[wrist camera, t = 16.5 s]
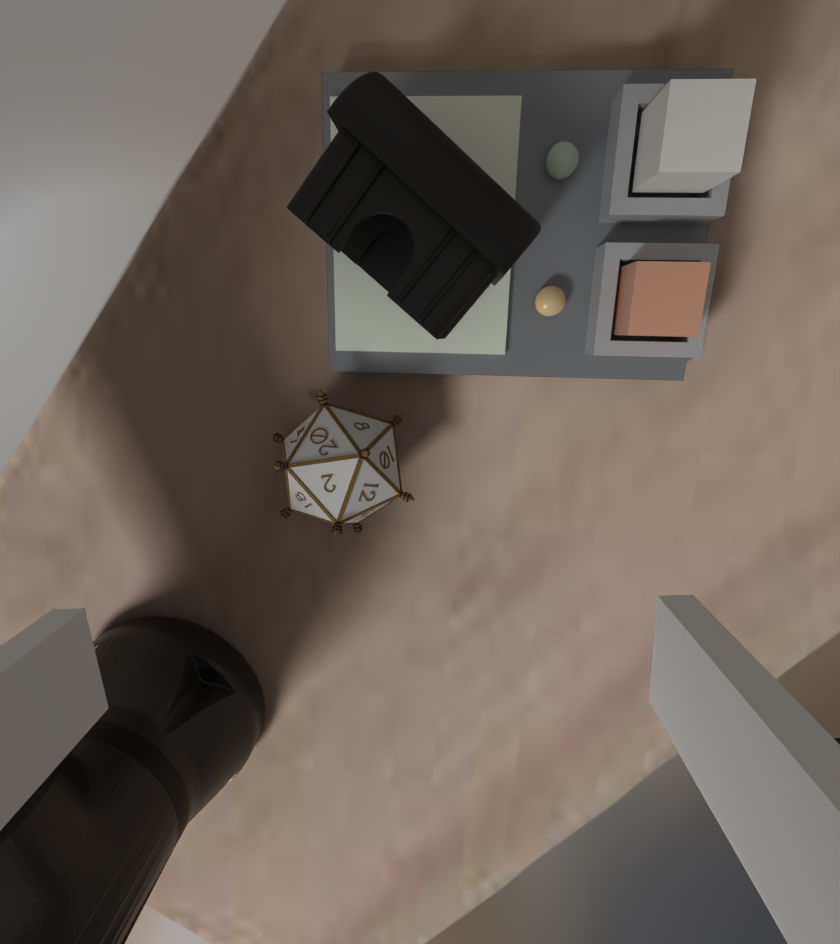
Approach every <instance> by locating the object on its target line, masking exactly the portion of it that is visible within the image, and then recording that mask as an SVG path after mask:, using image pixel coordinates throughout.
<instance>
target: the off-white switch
mask: <svg viewBox="0 0 840 944" xmlns="http://www.w3.org/2000/svg"><path fill="white" fill-rule="evenodd" d="M755 85H756V79H671V80H670V81H669V82H668V83H667V84H666V86H665V87H664V88H663V89H662V90H661V91H660V92H659V94H658V95H657V96H656V97H655V98H654V99H653V101H652V102H651V103H650V104H649V105H648V106H647V107H646V109H645V110H644V111H643V112H642V115H641V124H640V132H639V140H638V148H637V157H636V165H635V173H634V181H633V190H632V192H649V193H704V192H705V191H707V190H709V189H711V188H713V187H715V186H716V185H718V184H720V183H722V182H724V181H726V180H727V179H729V178H731V177H733V176H735V175H737V174H738V173H740V172H741V167H742V161H743V155H744V149H745V143H746V138H747V132H748V126H749V120H750V114H751V108H752V103H753V97H754V91H755Z"/></svg>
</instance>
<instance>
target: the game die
mask: <svg viewBox="0 0 840 944" xmlns="http://www.w3.org/2000/svg"><path fill="white" fill-rule="evenodd" d="M326 396H327V395H326V393H324V392H323V391H322V390H321V389H320V391H319V394H318V396H317V397H318V399H319V400H318V401H320V403H321V406H320V407H318V408H317V409H316V410H315V411H314V412H313V413H312V414H311V415H309V416H308V417H307V418H306V419H305V420H304V421H303V422H302V423H301V424H299V425H298V426H297V427H296V428H295V429H294V430H293V431H292V432H291V433H289V434H288V435H287V436H286V437H285V438H283V437H282V435H279V433H277V434H273V435H271V436H272V438H273V441H277V442H279V443H280V442H282V449H283V460H284V462H278V461H276V463H275V464H274V465H272V467H274V468H275V469H276V470H277V472H278V471H279V470H280V471H283V470H285V479H286V489H287V498H288V508H286V509H284V510H283V511H280V512H281V514H280V517H279V518H287V516H290V513H291V512H292V511H293V512H296V513H299V514H303V515H306V516H309V517H312V518H315V519H318V520H322V521H325V522H328V523H331V524H334V527H332V529H333V531H332V533H334V535H335V536H336V538H337V537H338V536H339V535H340V534H342V526H341V525H348V524H354V526H353V527H354V531H355V532H356V533H358V534H360V532H361V530H362V529H363V528H361V526H362V525H360V524H359V522H361V521H362V520H364V519H366V518H367V517H369V516H370V515H372V514H373V513H375V512H377V511H378V510H380V509H381V508H383V507H384V506H386V505H387V504H389V503H391V502H392V501H394V500H395V499H397V498H398V497H402V498H403V500H406V502H408V501H413V500H414V498H413V497H412V495H411V494H408V493H407V492H406V493H405V492H402V485H401V478H400V470H399V462H398V454H397V446H396V438H395V430H394V426H395V425H397V424H398V425H399V423H400V422H402V419H403V416H404V414H403V415H396V416H395V417H393V420H392V421H391V422H389V421H386V420H382V419H379V418H376V417H372V416H369V415H365V414H362V413H359V412H355V411H352V410H349V409H345V408H342V407H338V406H335V405H332V404H328V403H327V397H326Z"/></svg>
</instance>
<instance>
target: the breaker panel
mask: <svg viewBox="0 0 840 944" xmlns="http://www.w3.org/2000/svg"><path fill="white" fill-rule="evenodd" d="M321 73H322V109H323V146H324V152H325V150H326V149H327V147H328V146H329V144H330V143H331V141H332V140H333V138H334V137H335V136H336V134H337V133H338V130H337V128H336V127H335V125H334V123H333V121H332V120H331V118H330V116H329V115H328V113H327V110H328V109H329V108H330V106H331V105H332V103H333V102H334V101H335V99H336V98H337V97H338V96H339V95H340V94H341V92H342V91H343V90H344V89H345V88H346V87H347V86H348V85H349V84H351V83H352V82H353V81H354V80H355V79H357V78H358V77H360V76H361V75H364V74H366V73H369V72H321ZM379 73H380V74H382V75H384V76H385V77H386V78H387V79H388V80H389V81H390V82H391V83H392V84H393V85H394V86H395V87H397V88H398V89H399V90H400V91H401V92H402V93H403V94H404V95H405V96H406V97H407V98H408V99H409V100H410V101H411V102H412V103H413V104H414V105H415V106H417V107H418V108H419V109H420V110H421V111H422V112H423V113H424V114H425V115H426V116H427V117H428V118H429V119H430V120H431V121H432V122H433V123H434V124H435V125H437V126H438V127H439V128H440V129H441V130H442V131H443V132H444V133H445V134H446V135H447V136H448V137H449V138H450V139H451V140H452V141H453V142H454V143H455V144H457V145H458V146H459V147H460V148H461V149H462V150H463V151H464V152H465V153H466V154H467V155H468V156H469V157H470V158H471V159H472V160H473V161H474V162H475V163H477V164H478V165H479V166H480V167H481V168H482V169H483V170H484V171H485V172H486V173H487V174H488V175H489V176H490V177H491V178H492V179H493V180H494V181H495V182H497V183H498V184H499V185H500V186H501V187H502V188H503V189H504V190H505V191H506V192H507V193H508V194H509V195H510V196H511V197H512V198H513V199H514V200H515V201H517V202H518V203H519V204H520V205H521V206H522V207H523V208H524V209H525V210H526V211H527V212H528V213H529V214H530V215H531V216H532V217H533V218H534V219H535V220H536V221H538V222H539V224H540V225H541V231H540V233H539V234H538V236H537V237H536V238H535V239H534V240H533V242H532V243H531V244H530V245H529V247H528V248H527V249H526V250H525V251H524V253H523V254H522V255H521V256H520V257H519V259H518V260H517V261H516V262H515V263H514V265H513V266H512V267H511V268H510V269H509V271H508V272H507V273H506V274H505V275H504V276H503V278H502V279H501V280H500V281H499V282H498V283H497V284H496V285H495V286H494V285H493V284H492V283H491V284H490V285H489V286H488V288H487V289H486V290H485V291H484V292H483V294H482V295H481V296H480V297H479V298H478V300H477V301H476V302H475V303H474V304H473V306H472V307H471V308H470V309H469V310H468V312H467V313H466V314H465V315H464V316H463V318H462V319H461V320H460V321H459V322H458V324H457V325H456V326H455V327H454V328H453V330H452V331H451V332H450V333H449V334H448V336H447V337H446V338H445V339H438V340H437V339H436V338H435V337H433V336H432V335H431V334H430V333H429V332H427V331H426V330H425V329H424V328H423V327H422V326H421V325H419V324H418V323H417V322H416V321H415V320H414V319H413V318H412V317H410V316H409V315H408V314H407V313H406V312H405V311H404V310H402V309H401V308H400V307H399V306H398V305H397V304H396V303H394V302H393V301H392V300H391V299H390V298H389V297H388V296H387V294H388V293H389V292H388V291H386V290H385V289H384V288H383V287H382V286H381V285H380V284H379V283H377V282H376V281H375V280H374V279H373V278H372V277H371V276H369V275H368V274H367V273H366V272H365V271H364V270H363V269H362V268H360V267H359V266H358V265H356V264H355V263H354V262H353V261H351V260H350V259H349V258H348V257H347V256H346V255H345V254H344V253H342V252H340V253H338V252H337V251H335V250H334V249H333V248H332V247H331V246H330V245H329V244H327V243H326V255H327V292H328V328H329V365H330V371H343V372H380V373H417V374H455V375H492V376H530V377H567V378H604V379H642V380H679V381H683V380H684V374H685V368H686V362H687V358H701V354H702V348H703V342H704V336H705V330H706V324H707V318H708V312H709V306H710V300H711V294H712V288H713V282H714V276H715V270H716V264H717V258H718V252H719V246H720V244H705V243H706V237H707V231H708V224H709V222H711V221H713V220H716V219H718V218H720V217H723V216H725V210H726V204H727V198H728V192H729V187H730V181H731V178H729V179H727V180H726V181H724V182H722V183H720V184H718V185H716V186H715V187H713V188H711V189H709V190H707V191H705V192H704V193H649V192H632V190H633V181H634V173H635V165H636V157H637V148H638V140H639V132H640V124H641V115H642V112H643V111H644V110H645V109H646V107H647V106H648V105H649V104H650V103H651V102H652V101H653V99H654V98H655V97H656V96H657V95H658V94H659V92H660V91H661V90H662V89H663V88H664V87H665V86H666V84H667V83H668V82H669V81H670V80H671V79H732V75H733V69H668V70H540V71H413V72H379ZM636 261H665V262H711V265H710V271H709V278H708V284H707V290H706V296H705V302H704V308H703V314H702V320H701V326H700V332H699V337H674V336H628V335H611V330H612V322H613V313H614V305H615V296H616V288H617V280H618V271H619V268H620V267H623V266H625V265H628V264H631V263H633V262H636Z"/></svg>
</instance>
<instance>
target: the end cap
mask: <svg viewBox="0 0 840 944" xmlns="http://www.w3.org/2000/svg"><path fill="white" fill-rule="evenodd" d="M327 113H328V115H329V116H330V118H331V120H332V121H333V123H334V125H335V127H336V128H337V130H338V133H337V134H336V136H335V137H334V138H333V140H332V141H331V143H330V144H329V146H328V147H327V149H326V150H325V152H324V153H323V155H322V156H321V158H320V159H319V161H318V162H317V164H316V165H315V167H314V168H313V169H312V171H311V172H310V174H309V175H308V177H307V178H306V180H305V181H304V183H303V184H302V186H301V187H300V189H299V190H298V192H297V193H296V195H295V196H294V197H293V199H292V200H291V202H290V203H289V205H288V206H287V208H288V209H289V210H290V211H291V212H292V213H293V214H294V215H296V216H297V217H298V218H299V219H300V220H301V221H302V222H304V223H305V224H306V225H307V226H308V227H309V228H310V229H312V230H313V231H314V232H315V233H316V234H317V235H318V236H319V237H321V238H322V239H323V240H324V241H325V242H326V243H327V244H329V245H330V246H331V247H332V248H333V249H334V250H335V251H337V252H338V253H340V252H342V253H344V254H345V255H346V256H347V257H348V258H349V259H350V260H351V261H353V262H354V263H355V264H356V265H358V266H359V267H360V268H362V269H363V270H364V271H365V272H366V273H367V274H368V275H369V276H371V277H372V278H373V279H374V280H375V281H376V282H377V283H379V284H380V285H381V286H382V287H383V288H384V289H385V290H386V291H388V292H389V293H388V294H387V296H388V297H389V298H390V299H391V300H392V301H393V302H394V303H396V304H397V305H398V306H399V307H400V308H401V309H402V310H404V311H405V312H406V313H407V314H408V315H409V316H410V317H412V318H413V319H414V320H415V321H416V322H417V323H418V324H419V325H421V326H422V327H423V328H424V329H425V330H426V331H427V332H429V333H430V334H431V335H432V336H433V337H435V338H436V339H437V340H438V339H445V338H446V337H447V336H448V334H449V333H450V332H451V331H452V330H453V328H454V327H455V326H456V325H457V324H458V322H459V321H460V320H461V319H462V318H463V316H464V315H465V314H466V313H467V312H468V310H469V309H470V308H471V307H472V306H473V304H474V303H475V302H476V301H477V300H478V298H479V297H480V296H481V295H482V294H483V292H484V291H485V290H486V289H487V288H488V286H489V285H490V284H491V283H492V284H493V285H494V286H495V285H496V284H497V283H498V282H499V281H500V280H501V279H502V278H503V276H504V275H505V274H506V273H507V272H508V271H509V269H510V268H511V267H512V266H513V265H514V263H515V262H516V261H517V260H518V259H519V257H520V256H521V255H522V254H523V253H524V251H525V250H526V249H527V248H528V247H529V245H530V244H531V243H532V242H533V240H534V239H535V238H536V237H537V236H538V234H539V233H540V231H541V225H540V224H539V222H538V221H536V220H535V219H534V218H533V217H532V216H531V215H530V214H529V213H528V212H527V211H526V210H525V209H524V208H523V207H522V206H521V205H520V204H519V203H518V202H517V201H515V200H514V199H513V198H512V197H511V196H510V195H509V194H508V193H507V192H506V191H505V190H504V189H503V188H502V187H501V186H500V185H499V184H498V183H497V182H495V181H494V180H493V179H492V178H491V177H490V176H489V175H488V174H487V173H486V172H485V171H484V170H483V169H482V168H481V167H480V166H479V165H478V164H477V163H475V162H474V161H473V160H472V159H471V158H470V157H469V156H468V155H467V154H466V153H465V152H464V151H463V150H462V149H461V148H460V147H459V146H458V145H457V144H455V143H454V142H453V141H452V140H451V139H450V138H449V137H448V136H447V135H446V134H445V133H444V132H443V131H442V130H441V129H440V128H439V127H438V126H437V125H435V124H434V123H433V122H432V121H431V120H430V119H429V118H428V117H427V116H426V115H425V114H424V113H423V112H422V111H421V110H420V109H419V108H418V107H417V106H415V105H414V104H413V103H412V102H411V101H410V100H409V99H408V98H407V97H406V96H405V95H404V94H403V93H402V92H401V91H400V90H399V89H398V88H397V87H395V86H394V85H393V84H392V83H391V82H390V81H389V80H388V79H387V78H386V77H385V76H384V75H382V74H380V73H379V72H369V73H366V74H364V75H361V76H360V77H358V78H357V79H355V80H354V81H353V82H352V83H351V84H349V85H348V86H347V87H346V88H345V89H344V90H343V91H342V92H341V94H340V95H339V96H338V97H337V98H336V99H335V101H334V102H333V103H332V105H331V106H330V108H329V109H328V110H327Z"/></svg>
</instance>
